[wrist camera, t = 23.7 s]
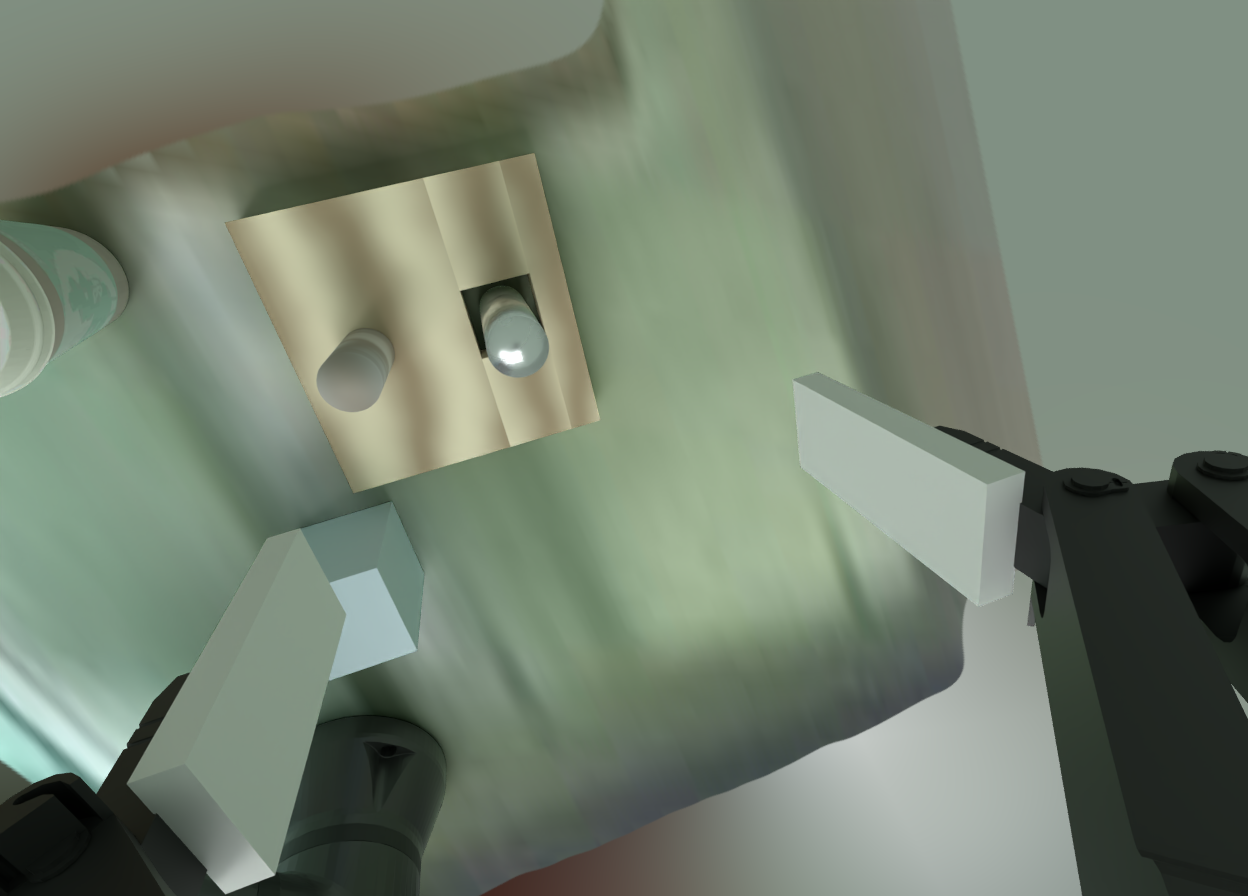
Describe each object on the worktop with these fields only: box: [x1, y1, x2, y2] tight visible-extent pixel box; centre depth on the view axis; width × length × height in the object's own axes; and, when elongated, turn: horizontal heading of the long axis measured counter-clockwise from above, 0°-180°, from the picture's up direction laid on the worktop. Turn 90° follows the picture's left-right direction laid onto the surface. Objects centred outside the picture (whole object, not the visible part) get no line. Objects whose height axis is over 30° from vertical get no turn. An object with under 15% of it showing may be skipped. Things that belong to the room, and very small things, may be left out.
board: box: [225, 153, 600, 494], centre depth 36 cm, size 18×18×10 cm
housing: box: [301, 501, 424, 681], centre depth 41 cm, size 7×7×9 cm
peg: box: [479, 286, 549, 378], centre depth 36 cm, size 3×3×12 cm
